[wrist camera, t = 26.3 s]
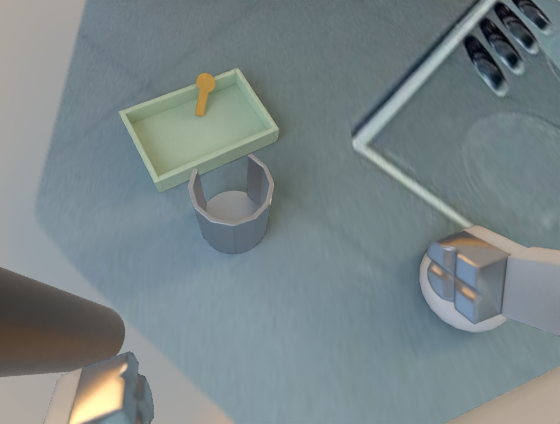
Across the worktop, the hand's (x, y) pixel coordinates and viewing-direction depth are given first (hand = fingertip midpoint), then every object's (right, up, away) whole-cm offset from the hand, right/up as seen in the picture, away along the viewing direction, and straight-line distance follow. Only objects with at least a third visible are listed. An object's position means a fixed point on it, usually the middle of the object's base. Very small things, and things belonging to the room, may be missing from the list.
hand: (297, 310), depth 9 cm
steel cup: (-6, +1, +30) cm, 30 cm away
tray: (-10, +12, +34) cm, 37 cm away
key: (-10, +17, +33) cm, 38 cm away
